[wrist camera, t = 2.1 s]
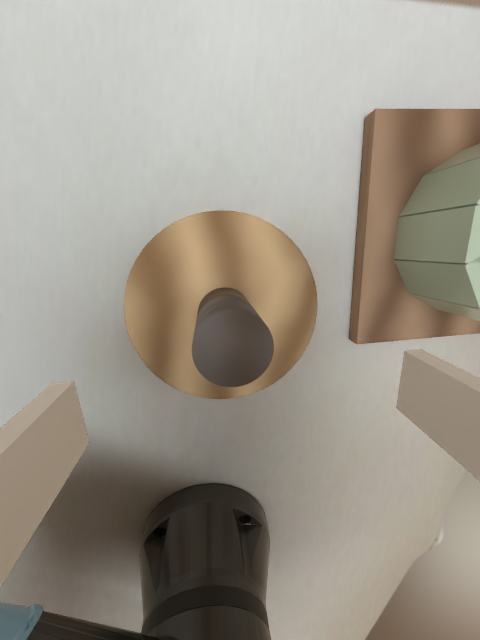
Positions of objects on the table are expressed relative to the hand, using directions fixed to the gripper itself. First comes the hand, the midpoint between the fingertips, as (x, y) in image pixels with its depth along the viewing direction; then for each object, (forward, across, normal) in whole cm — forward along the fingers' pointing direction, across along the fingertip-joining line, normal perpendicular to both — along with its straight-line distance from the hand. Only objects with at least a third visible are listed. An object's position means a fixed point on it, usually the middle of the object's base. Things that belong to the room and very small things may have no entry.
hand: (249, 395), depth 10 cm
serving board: (+16, -23, -6) cm, 28 cm away
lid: (+16, 0, 0) cm, 16 cm away
